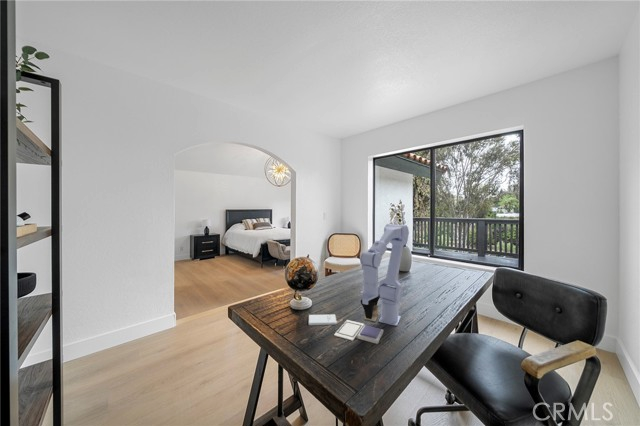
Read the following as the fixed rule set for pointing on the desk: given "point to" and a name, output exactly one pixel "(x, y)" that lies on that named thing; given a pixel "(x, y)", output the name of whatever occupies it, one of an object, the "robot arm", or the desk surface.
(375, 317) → the stamp
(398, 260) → the robot arm
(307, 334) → the desk surface
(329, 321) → the external hard drive
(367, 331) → the ink pad
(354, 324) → the print card
